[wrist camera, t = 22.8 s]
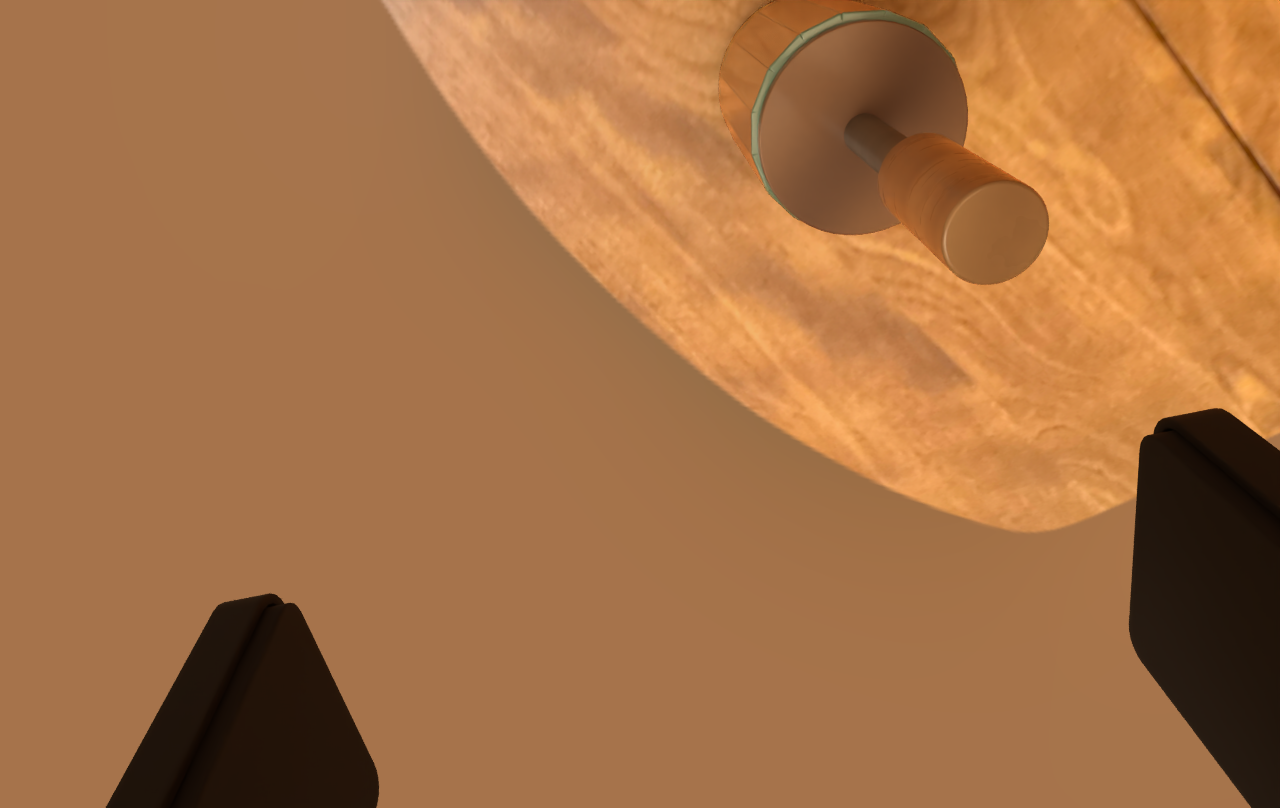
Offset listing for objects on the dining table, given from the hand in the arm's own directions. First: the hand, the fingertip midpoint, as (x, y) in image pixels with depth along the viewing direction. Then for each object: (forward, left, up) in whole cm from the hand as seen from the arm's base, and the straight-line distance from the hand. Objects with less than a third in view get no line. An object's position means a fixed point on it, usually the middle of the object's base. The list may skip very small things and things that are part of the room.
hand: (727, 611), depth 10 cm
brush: (+6, +3, -29) cm, 30 cm away
